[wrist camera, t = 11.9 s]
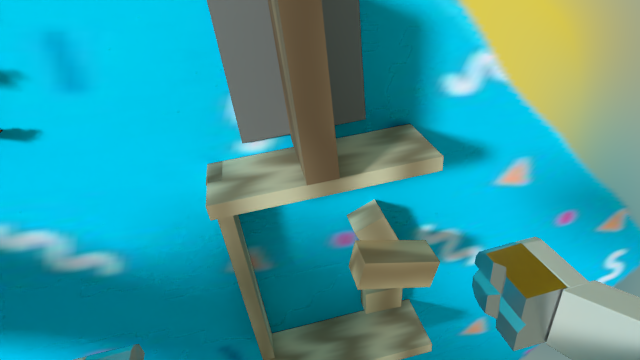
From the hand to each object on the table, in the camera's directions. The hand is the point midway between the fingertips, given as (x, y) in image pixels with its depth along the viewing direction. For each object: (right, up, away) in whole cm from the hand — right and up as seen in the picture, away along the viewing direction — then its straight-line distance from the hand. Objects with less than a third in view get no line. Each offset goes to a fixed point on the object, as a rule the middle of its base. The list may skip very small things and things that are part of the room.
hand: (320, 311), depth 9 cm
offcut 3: (+6, -9, +34) cm, 36 cm away
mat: (-2, +12, +19) cm, 23 cm away
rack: (+1, -4, +29) cm, 29 cm away
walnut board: (-2, +12, +19) cm, 22 cm away
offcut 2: (+6, -4, +28) cm, 28 cm away
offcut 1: (+6, -2, +30) cm, 31 cm away
